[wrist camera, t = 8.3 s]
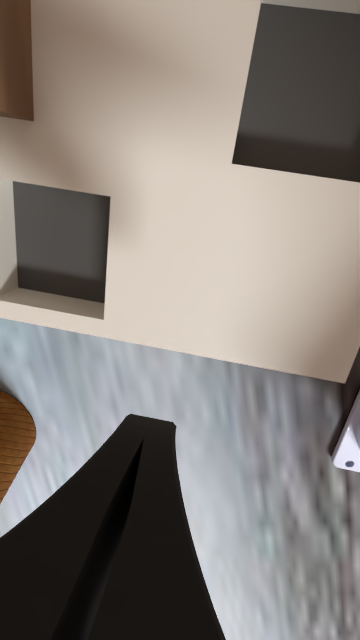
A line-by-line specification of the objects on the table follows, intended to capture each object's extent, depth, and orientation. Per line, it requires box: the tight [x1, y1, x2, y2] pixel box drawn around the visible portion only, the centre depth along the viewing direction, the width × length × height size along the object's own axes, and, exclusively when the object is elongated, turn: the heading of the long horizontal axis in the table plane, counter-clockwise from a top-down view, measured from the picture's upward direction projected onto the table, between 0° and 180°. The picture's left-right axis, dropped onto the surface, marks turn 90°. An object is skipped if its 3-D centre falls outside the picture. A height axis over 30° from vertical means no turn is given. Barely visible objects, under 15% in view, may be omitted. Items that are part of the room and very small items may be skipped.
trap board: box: [0, 0, 360, 383], centre depth 14 cm, size 22×16×4 cm
